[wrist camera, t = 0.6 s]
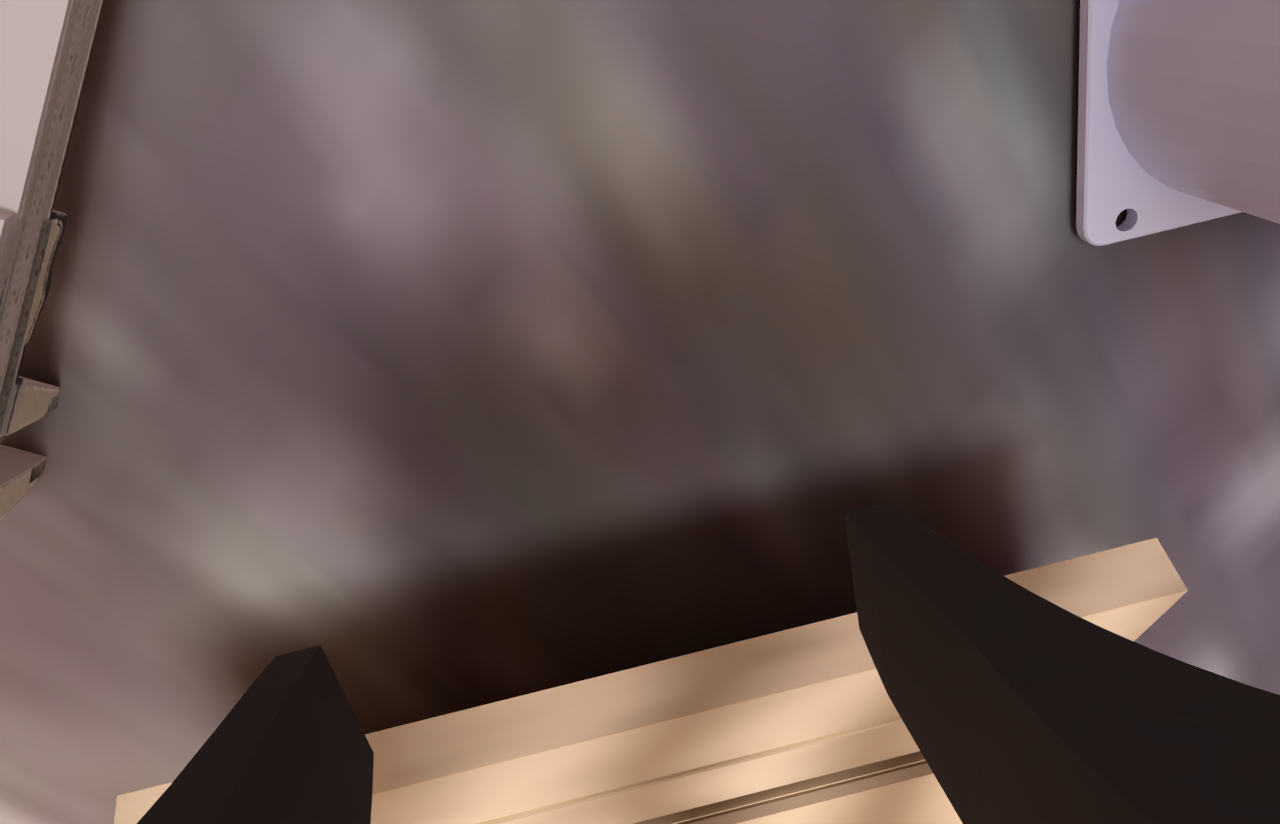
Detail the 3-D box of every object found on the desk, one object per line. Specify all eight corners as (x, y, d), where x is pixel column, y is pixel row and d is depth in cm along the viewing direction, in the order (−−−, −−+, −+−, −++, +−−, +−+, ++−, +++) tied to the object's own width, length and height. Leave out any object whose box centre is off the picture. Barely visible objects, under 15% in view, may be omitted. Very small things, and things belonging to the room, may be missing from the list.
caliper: (53, 469, 21) (-114, 650, 15) (0, 456, 21) (-190, 635, 15) (261, -651, 14) (89, -1086, 8) (184, -698, 13) (-51, -1184, 8)
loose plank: (1156, 537, 19) (1189, 593, 18) (1034, 678, 27) (1053, 720, 27) (117, 795, 18) (110, 863, 18) (317, 858, 27) (318, 906, 26)
